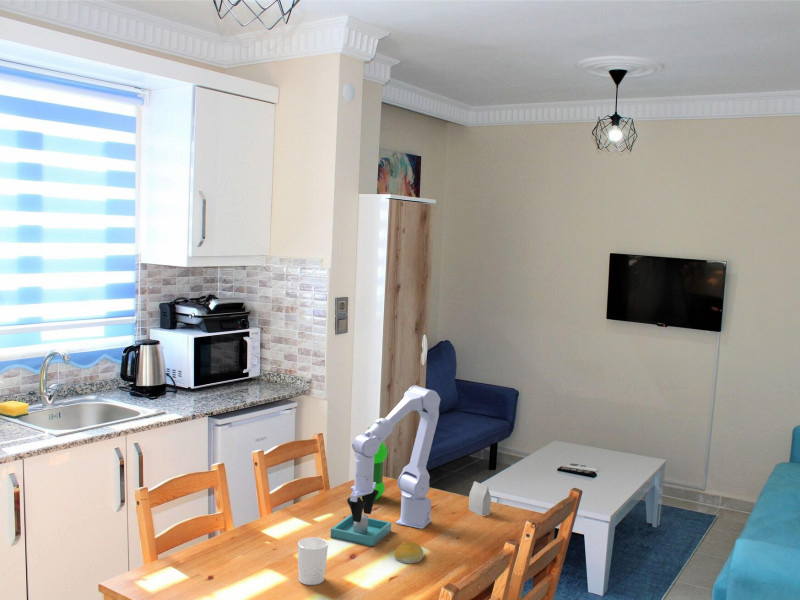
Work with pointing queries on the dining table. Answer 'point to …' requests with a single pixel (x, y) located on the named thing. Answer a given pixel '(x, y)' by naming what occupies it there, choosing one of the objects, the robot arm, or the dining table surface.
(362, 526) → the white cylinder
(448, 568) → the dining table surface
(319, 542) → the white cup
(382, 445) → the plastic bottle
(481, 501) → the white gable top carton
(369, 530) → the tray
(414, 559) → the bread roll
